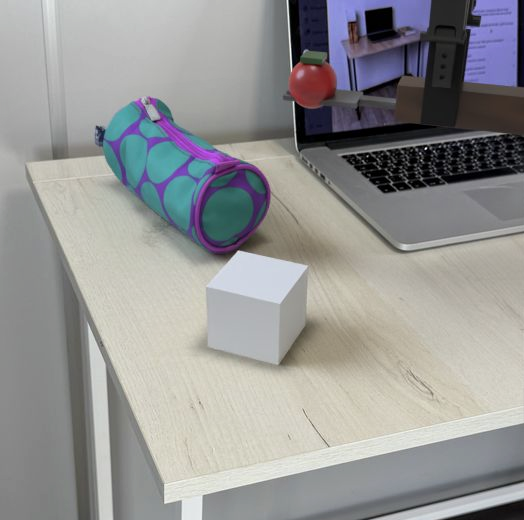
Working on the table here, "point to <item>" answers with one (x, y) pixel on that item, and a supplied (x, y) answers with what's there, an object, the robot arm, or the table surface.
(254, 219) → the pencil case
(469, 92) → the brown handled tool
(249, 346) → the white cube
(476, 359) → the table surface
